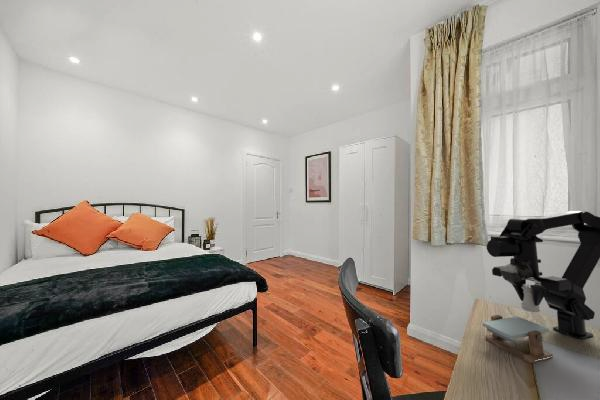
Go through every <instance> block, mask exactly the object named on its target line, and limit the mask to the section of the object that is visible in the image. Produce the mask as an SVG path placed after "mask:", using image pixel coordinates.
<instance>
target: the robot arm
mask: <svg viewBox="0 0 600 400" xmlns="http://www.w3.org/2000/svg"><path fill="white" fill-rule="evenodd" d="M566 226H571V227H572V228H573V230H574V231H577V232H578V234H577V237H578V239H579V243H580V244H579V246H578V248H577V250H576V251H575V253H574V255H573V257H572V259H571V260H570V262H569V264H568V266H567V268H566V269H565V270H564V272H563V274H562V276H561V277H558V276H551V275H550V276H545V277H542V276H543V272H542V271H540V269H539V264H541V263H542V259H539V258H538V249H537V243H543V242H544V240H543V239H542V238H540V237H538V235H541V234H543V233H544V232H545V231H547V230H550V229H556V228H561V227H562V228H563V227H566ZM486 251H487V253H488V254H489V255H490V256H491V257H494V258H500V257H502V258H503V257H504V258H505V257H511V258H510V259H509V261H510V263H508V264H506V265H500V266H494V267H493V268H491V274H492V275H493V276H496V277H499V278H500V277H502V278H503V279H504V280H505V281H506V282H508V283H509V284H511V286H512V288H514V290H515V292H516V294H517V296H518V298H519V300H520V301H521V302H523V299H524V293H523V291H524V290H523V289H522V286H523V285H524V284H526V285H527V281H531V282H534V284H529V286H530V287H531V288H532V289H533V295H534V303H535V306H539V307H540V304H541V303H542V301H543V299H544V300H545V302H546V305H548V308H550V309H552V310H554V311H556V316H557V319H556V320H557V326H553V327H552V330H555V331H558V332H560V333H561V334H564V335H568V336H571V337H573V338H575V339H579V340H581V339H587V338H591V337H593V336H594V334H593V333H591V332H589V331H587V328H586V321H590V320H593V319H594V317H595V315H596V313H595V311H594V310H593V309H592V308H590V307H589V306H588V305H587V304H586V300H587V297H586V294H585V291H584V288H585V286H586V283H587V282H588V280H589V279H590V277H591V275H592V274H593V272H594V270H595V268H596V265H597V264H598V262H599V260H600V216H596V215H594V214H593V213H591V212H590V211H586V210H569V211H567V212H561V213H557V214H552V215H545V216H539V217H528V218H527V217H512V218H510V219H508V221H507V223H506V226H505V227H504V229H503V230H502V231H501V233H500V234H499V236H495V235H493V236H491V235H490V240H488V242H487V244H486Z"/></svg>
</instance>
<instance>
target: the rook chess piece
mask: <svg viewBox="0 0 600 400" xmlns="http://www.w3.org/2000/svg"><path fill="white" fill-rule="evenodd" d="M522 289H523V290H524V291H523V293H524V299H523V301H521V303H520V305H521V306H520V307H521V309H523V310H524V311H526V312H530V313H539V312H540V311H541V309H540V305H539V306H535V303H534V295H533V289H532V288H531V287H530V284H527V283H526V284H524V285H523V286H522Z"/></svg>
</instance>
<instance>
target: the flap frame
mask: <svg viewBox="0 0 600 400" xmlns="http://www.w3.org/2000/svg"><path fill="white" fill-rule="evenodd" d="M499 319H504V318H503V316H502V315H500V314H495V315H491V316H490V321H494V320H499ZM527 338H528V347H529V354H526V353H524V352H522V351H520V350H518V349H516V348H514V347H512V346H511V345H508V344H507V343H504V342H502V341H501V340H504V339H503V338H501V337H499V336H497V335H495V334H493V333H492V334H487V335H485V340H487V341H489V342H491V343H492V344H494V345H496V346H498V347H499V348H501V349H504V350H505V351H507V352H509V353H510V354H512V355H515V356H517V357H519V358H521V359H522V360H524V361H526V362H528V363H529V364H532V363H535V362H534V361H535V360H538V359H543V358H547V357H551V356H553V353H551V352H549V351H547V350H544V347H543V345H544V343H543V333H542V334H541V332H539V331H537V330H535V331H530V332H528V336H527Z"/></svg>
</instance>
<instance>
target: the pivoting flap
mask: <svg viewBox="0 0 600 400" xmlns="http://www.w3.org/2000/svg"><path fill="white" fill-rule="evenodd" d="M481 324H482V327H485V328H486V329H487V330H486V331H487V332H489V333H492V334H495V335H497V336H499V337H501V338H503V339H502V340H505V341H508V342H512V341H513V340H517V339H522V338H526V337H527V338H528V332H530V331H535V330H537V331H539V332H541V334H542V335H543V334H546V333H550V327H546V326H543V325H541V324H539V323H536V322H534V321H531V320H528V319H525V318H523V317H520V316H518V315H516V316H515V315H514V316H512V317H511V316H510V317H506V318H503V319H499V320H494V321H491V320H489V321H483V322H482V323H481Z"/></svg>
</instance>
